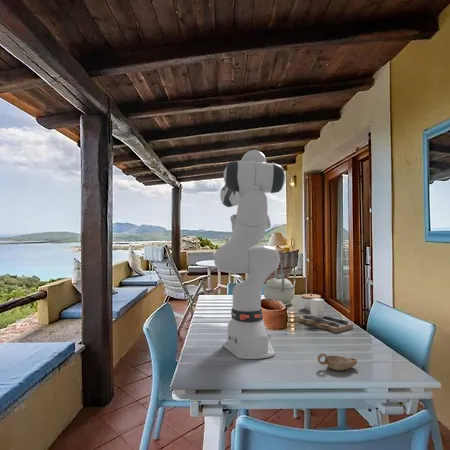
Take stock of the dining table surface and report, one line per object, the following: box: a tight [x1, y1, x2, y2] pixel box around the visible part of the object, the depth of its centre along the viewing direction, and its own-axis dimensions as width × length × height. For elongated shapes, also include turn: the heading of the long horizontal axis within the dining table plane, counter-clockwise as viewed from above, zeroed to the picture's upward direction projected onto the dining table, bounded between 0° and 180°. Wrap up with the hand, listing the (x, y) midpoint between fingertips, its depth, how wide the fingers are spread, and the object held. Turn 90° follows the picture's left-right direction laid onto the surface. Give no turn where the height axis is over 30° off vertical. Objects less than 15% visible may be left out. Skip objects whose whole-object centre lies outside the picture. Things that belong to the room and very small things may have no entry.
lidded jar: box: [301, 292, 322, 312], centre depth 196 cm, size 11×11×9 cm
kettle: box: [263, 261, 295, 306], centre depth 213 cm, size 25×18×25 cm
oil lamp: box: [317, 352, 358, 372], centre depth 114 cm, size 13×8×5 cm, turn 92°
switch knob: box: [310, 298, 325, 319], centre depth 168 cm, size 4×5×9 cm
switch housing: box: [298, 313, 354, 334], centre depth 164 cm, size 22×12×4 cm, turn 36°
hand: (254, 240), depth 171 cm, fingers open, 8 cm apart
